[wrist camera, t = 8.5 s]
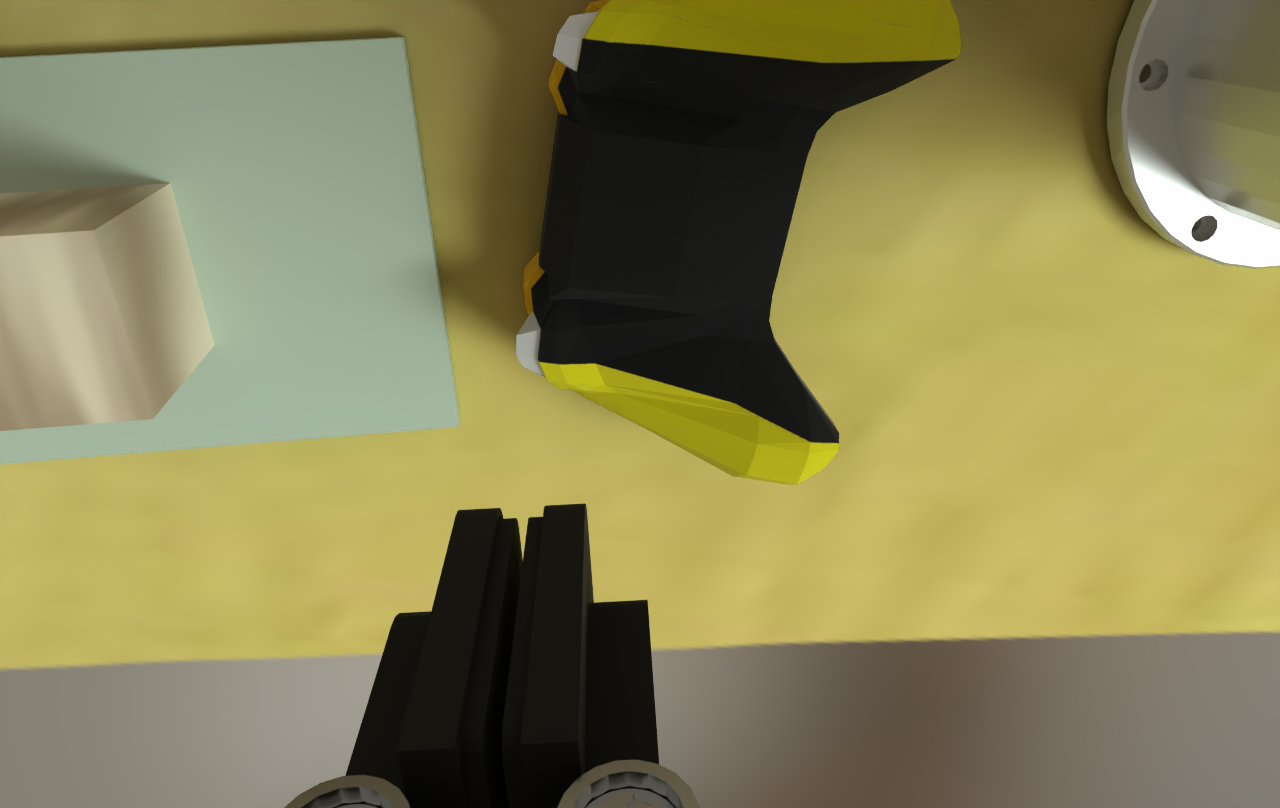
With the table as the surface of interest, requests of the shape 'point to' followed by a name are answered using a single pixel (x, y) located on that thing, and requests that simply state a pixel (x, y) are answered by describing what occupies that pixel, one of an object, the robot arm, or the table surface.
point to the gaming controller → (700, 208)
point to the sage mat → (257, 231)
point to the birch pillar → (95, 306)
